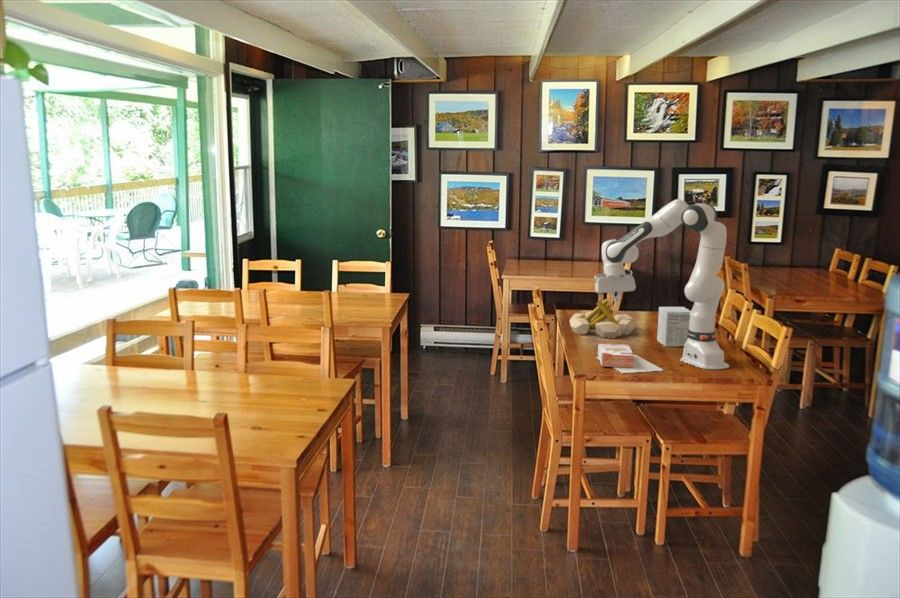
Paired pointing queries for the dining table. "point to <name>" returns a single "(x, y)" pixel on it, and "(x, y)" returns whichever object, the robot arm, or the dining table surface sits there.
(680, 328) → the supplement box
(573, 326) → the campfire
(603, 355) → the cracker box
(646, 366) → the felt mat
